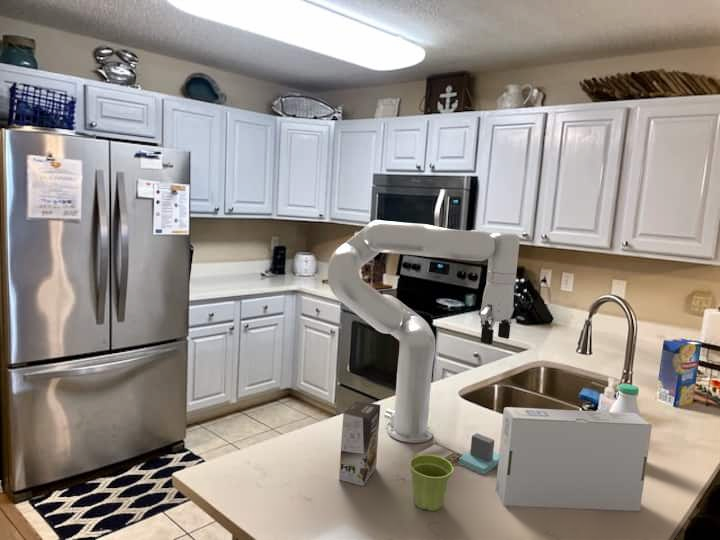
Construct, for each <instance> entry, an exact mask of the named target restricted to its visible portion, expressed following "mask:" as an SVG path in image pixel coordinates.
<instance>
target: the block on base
mask: <svg viewBox="0 0 720 540" xmlns="http://www.w3.org/2000/svg"><path fill="white" fill-rule="evenodd" d="M470 441H471V443H470V450H469V451H468V452H466V453H465V454H462V456H461V457H460V458H459V462H458V463H457V464H458V465H460V464H461V465H460V466H463V467H465V468H467V469H470V470H471V471H474V472H476V473H478V474H481V475H485V474H487V473H488V472H489V471H492V469H494V468H495V467H496V466H498V462H499V452H496V451H494V449H495V447H494V446H495V439H493V438H490V437H487V436H486V435H483V434H481V433H477V432H476V433H475V434H473V435H472V436H471V440H470Z"/></svg>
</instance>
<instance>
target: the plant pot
mask: <svg viewBox="0 0 720 540" xmlns="http://www.w3.org/2000/svg"><path fill="white" fill-rule="evenodd" d="M408 465H409V468H410V473H411V474H412V491H413V493H412V494H413V495H412V496H413V503H414V504H415V505H416V507H417V508H420V509H421V510H427V511H430V512H432V511H433V512H435V511H438V510H440V509H441V507H442V506H443V502H444V498H445V493H446V491H447V487H448V483H449V479H450V478H451V475H452V474H453V472H454V470H455V469H454V465H453V466H452V464H451V463H450V462H449V461H448V460H446V459H444V458H442V457H439V456H435V455H418V456H415V457H412V458H411V459H410V460H409V464H408Z"/></svg>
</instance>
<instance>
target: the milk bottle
mask: <svg viewBox="0 0 720 540" xmlns="http://www.w3.org/2000/svg"><path fill="white" fill-rule="evenodd" d="M617 392H618V397H617V399H616V400H615V402H614V403H613V404H612V406H611V407H610V410H609V412H619V413H635V414H637V415H638V416H640V417H641V418H642V416H641V412H640V409H639V406H638V401H637V400H638V399H637V398H638V397H639V387H638V386H636V385H633V384H629V383H620V384H619V385H618V390H617Z"/></svg>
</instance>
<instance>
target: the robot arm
mask: <svg viewBox="0 0 720 540" xmlns="http://www.w3.org/2000/svg"><path fill="white" fill-rule="evenodd" d="M519 249H520V236H519V235H518V234H517V233H511V232H486V231H483V230H478V229H471V230H466V229H465V230H462V229H453V228H452V229H451V228H445V227H439V226H436V225H431V224H426V223H415V222H413V223H412V222H401V221H390V220H389V221H388V220H381V219H375V220H372V221H371V222H369V223H368V224H367V225H365V226H364V227H363V228H362V229H360V231H358V232H357V233H356V234H354V235H353V236H352V237H351V238H349V239H347V241H346V242H344V243H343V244H342V245H340V246H339V247H337V249H335V250H334V251H333V253H332V254H331V257H330V259H329V262H328V265H327V266H328V267H327V282H328V285H329V288H330V291H331V292H332V294H333V295H334V296H335V297H336V299H337V300H339V302H340V303H342V304H343V305H344V306H345V307H347V308H348V309H350V310H351V311H352V312H353V313H354V314H356V315H357V316H358V317H360V318H361V319H362V320H363V321H365V322H366V323H367V324H368V325H370V326H371V327H372V328H374V329H375V331H377V332H379V333H382V334H386V335H388V334H389V335H391V336H393V337H394V338H395V339H397V341H399V350H398V360H397V371H396V384H395V385H396V388H395V401H394V410H393V409H392V408H387V409H386V411H385V413H384V417H383V418H384V419H387V420H389V421H390V422H389V424H388V425H387V433H388V434H389V436H391V438H393V439H395V440H397V441H400V442H404V443H411V444H420V443H424V442H427V441H429V440H431V439H432V437H433V433H434V432H433V429H432V427H430V426H429V424H428V423H429V411H430V402H431V401H430V400H431V388H432V374H433V366H434V361H435V360H434V359H435V354H436V337H435V334H434V332H433V330H432V328H431V326H430V325H429V323H428V322H427V321H426V320H425V319H424V318H423V317H422V316H421V315H419V314H418V313H417V312H415V311H414V310H413V309H412V308H410V307H408V306H407V305H406V304H404V303H403V302H402V301H401V300H399V298H397V297H395V296H393V295H391V294H382V293H381V292H379V291H378V290H376V289H375V288H374V287H373V286H372V285H370V283H367V282H366V281H365V280H363V278H362V277H361V275H360V271H361V268H362V267H364V265H366V264H367V263H369V262H370V261H371V260H372V259H374V258H375V257H376V256H377V255H379V254H380V253H383V254H384V253H385V254H398V255H399V254H400V255H411V256H420V257H421V256H422V257H427V258H428V257H429V258H445V259H450V260H451V259H452V260H453V259H454V260H464V261H477V262H482V261H485V260H488V261H487V262H488V263H487V272H486V284H485V287H484V290H483V295H482V302H481V309H480V314H479V317H480V318H479V319H480V324H481V325H480V327H481V333H480V343H483V344H486V345H493V341H494V340H493V339H494V329H493V328H494V326H495V323H498V322H499V323H498V329H497V332H498V333H497V337H498V338H502V339H506V340H508V339H510V334H511V333H510V332H511V324H512V322H513V321H512V319H513V315H514V311H515V307H514V298H515V297H514V295H515V294H514V292H515V287H514V286H516V280H517V279H516V278H517V271H518V270H517V269H518V260H519Z"/></svg>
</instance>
